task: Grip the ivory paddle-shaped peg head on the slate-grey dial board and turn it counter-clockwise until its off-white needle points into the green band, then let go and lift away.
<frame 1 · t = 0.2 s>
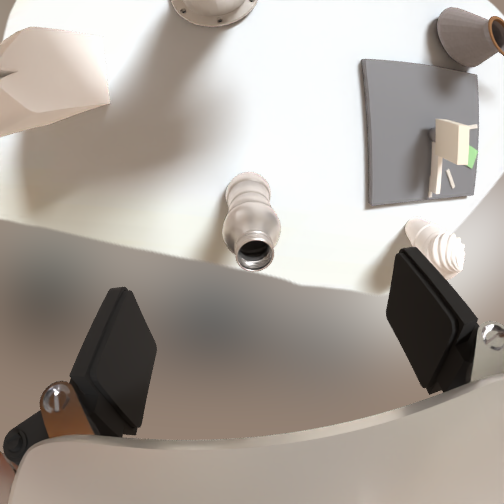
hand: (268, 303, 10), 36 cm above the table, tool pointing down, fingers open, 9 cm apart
peg head: (446, 160, 38), point 6 cm above the table, hinge at 0.0°
coffee pot: (470, 41, 31), on the table
soft serve ice cream cone: (413, 226, 50), on the table
milk: (74, 81, 34), on the table
plastic bottle: (247, 188, 46), on the table
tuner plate: (427, 132, 41), on the table
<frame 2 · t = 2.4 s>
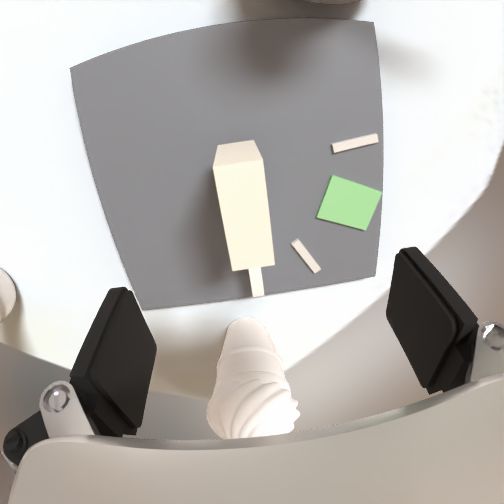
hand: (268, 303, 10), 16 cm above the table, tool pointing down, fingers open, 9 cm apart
peg head: (250, 240, 21), point 6 cm above the table, hinge at 0.0°
soft serve ice cream cone: (246, 328, 33), on the table
plastic bottle: (4, 281, 28), on the table
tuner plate: (240, 169, 24), on the table
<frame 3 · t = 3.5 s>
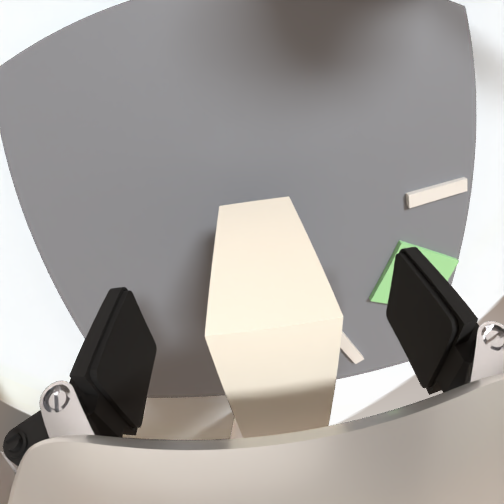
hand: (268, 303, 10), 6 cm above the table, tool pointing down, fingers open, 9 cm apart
peg head: (276, 367, 12), point 6 cm above the table, hinge at 0.0°
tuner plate: (257, 228, 15), on the table
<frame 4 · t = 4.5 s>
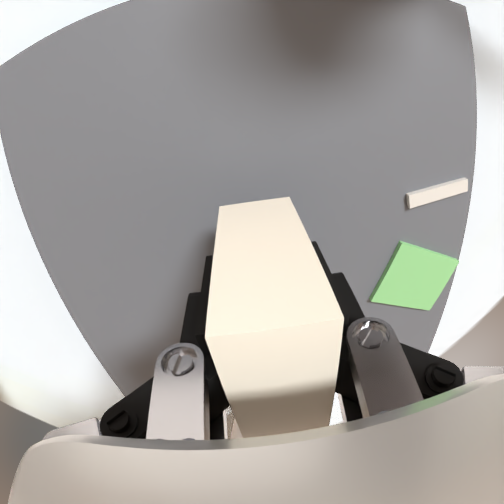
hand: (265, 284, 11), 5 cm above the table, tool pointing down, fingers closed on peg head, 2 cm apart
peg head: (276, 368, 12), point 6 cm above the table, hinge at 0.0°, touching gripper
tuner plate: (257, 228, 15), on the table
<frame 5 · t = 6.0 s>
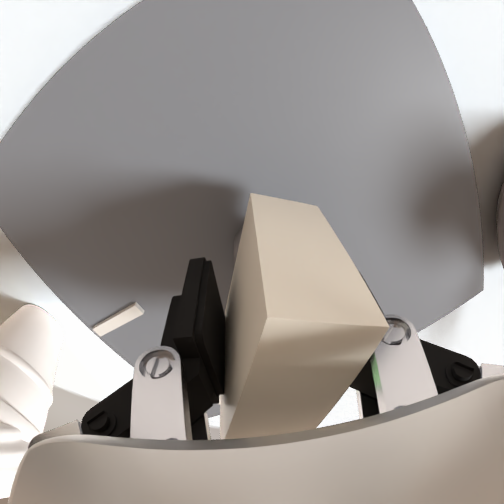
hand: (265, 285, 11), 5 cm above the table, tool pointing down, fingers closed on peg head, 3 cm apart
peg head: (248, 367, 12), point 6 cm above the table, hinge at 47.6°, touching gripper
soft serve ice cream cone: (41, 322, 18), on the table
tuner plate: (258, 226, 15), on the table
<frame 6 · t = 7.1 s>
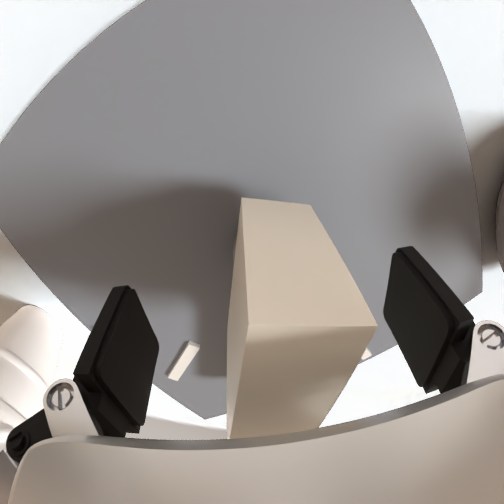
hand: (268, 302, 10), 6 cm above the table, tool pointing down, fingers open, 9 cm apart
peg head: (255, 369, 12), point 6 cm above the table, hinge at 52.6°
soft serve ice cream cone: (41, 323, 18), on the table
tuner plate: (257, 228, 15), on the table
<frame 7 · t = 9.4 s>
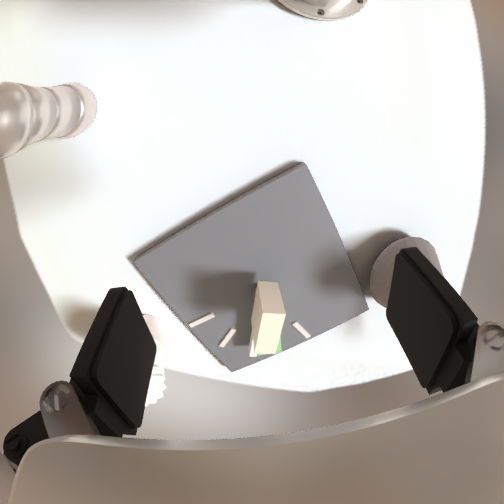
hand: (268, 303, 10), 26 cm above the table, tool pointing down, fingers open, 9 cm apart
peg head: (261, 332, 37), point 6 cm above the table, hinge at 53.3°
coffee pot: (403, 285, 43), on the table
soft serve ice cream cone: (149, 324, 43), on the table
plastic bottle: (79, 109, 28), on the table
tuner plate: (260, 284, 40), on the table
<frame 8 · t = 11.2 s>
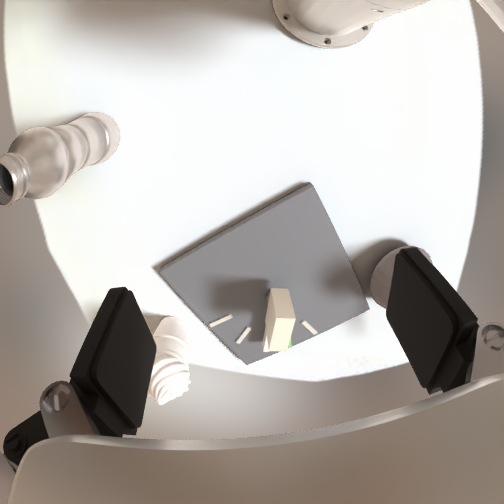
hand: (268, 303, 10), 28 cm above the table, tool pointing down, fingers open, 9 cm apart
peg head: (273, 332, 42), point 6 cm above the table, hinge at 53.3°
coffee pot: (402, 287, 47), on the table
soft serve ice cream cone: (172, 324, 48), on the table
plastic bottle: (102, 134, 32), on the table
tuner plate: (273, 288, 45), on the table
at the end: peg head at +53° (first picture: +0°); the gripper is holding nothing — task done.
